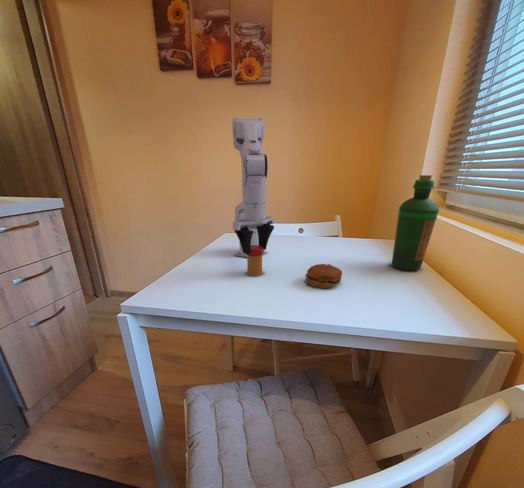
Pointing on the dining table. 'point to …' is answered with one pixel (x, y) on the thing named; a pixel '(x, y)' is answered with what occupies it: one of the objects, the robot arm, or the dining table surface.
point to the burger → (323, 276)
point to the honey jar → (254, 265)
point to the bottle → (415, 226)
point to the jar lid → (255, 250)
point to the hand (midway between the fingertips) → (254, 251)
